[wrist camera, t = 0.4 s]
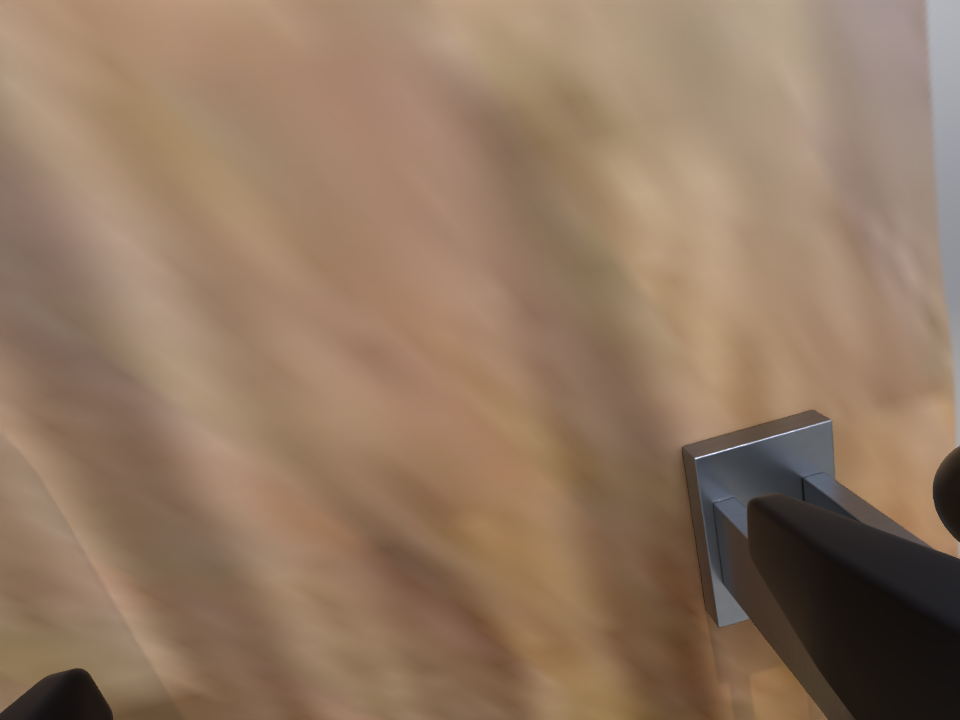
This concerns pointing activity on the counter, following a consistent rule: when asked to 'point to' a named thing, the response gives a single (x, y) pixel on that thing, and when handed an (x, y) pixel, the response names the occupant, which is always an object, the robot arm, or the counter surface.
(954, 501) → the ball knob lever
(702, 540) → the bracket
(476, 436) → the counter surface
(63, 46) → the counter surface
